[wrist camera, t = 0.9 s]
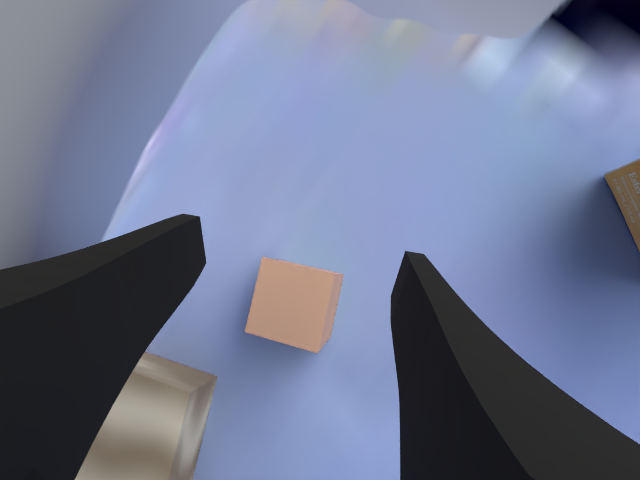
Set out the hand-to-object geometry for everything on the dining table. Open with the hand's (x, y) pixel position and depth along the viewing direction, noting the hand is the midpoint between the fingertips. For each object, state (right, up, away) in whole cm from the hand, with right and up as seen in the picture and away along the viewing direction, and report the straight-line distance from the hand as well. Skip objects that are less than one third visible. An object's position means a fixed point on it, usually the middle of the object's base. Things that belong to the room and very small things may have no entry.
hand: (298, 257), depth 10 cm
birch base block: (-15, -15, +15) cm, 26 cm away
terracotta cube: (0, -4, +13) cm, 14 cm away
